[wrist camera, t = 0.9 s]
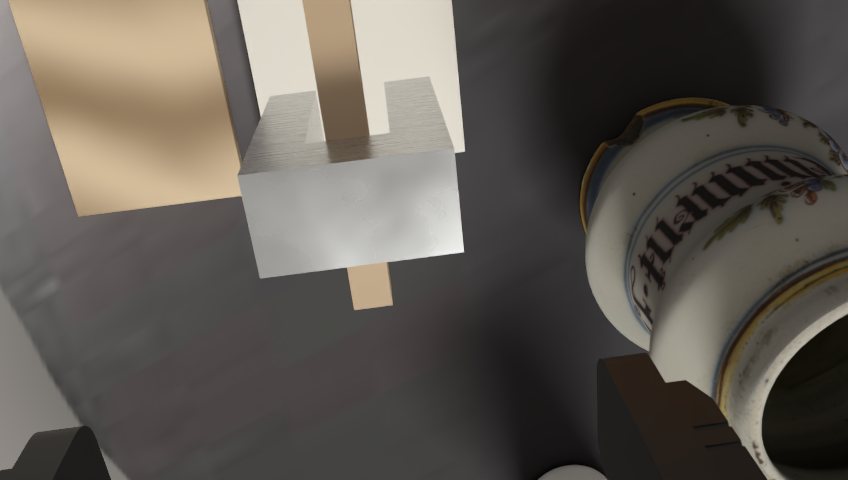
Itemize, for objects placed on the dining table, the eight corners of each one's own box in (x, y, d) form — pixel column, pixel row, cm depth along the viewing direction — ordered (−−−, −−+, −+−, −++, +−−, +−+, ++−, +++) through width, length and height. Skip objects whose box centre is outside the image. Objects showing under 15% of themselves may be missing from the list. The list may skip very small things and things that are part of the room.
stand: (198, -218, 30) (51, -303, 16) (427, -244, 31) (486, -352, 16) (275, 167, 37) (221, 351, 23) (461, 143, 37) (525, 311, 23)
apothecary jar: (685, 20, 36) (957, 140, 20) (839, 175, 40) (1172, 383, 23) (507, 209, 39) (611, 446, 23) (664, 336, 43) (850, 615, 27)
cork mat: (13, -3, 33) (7, -2, 33) (201, -26, 33) (198, -25, 33) (82, 211, 37) (78, 216, 37) (248, 190, 38) (246, 195, 37)
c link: (270, 95, 27) (237, 175, 20) (429, 76, 27) (453, 148, 20) (285, 176, 28) (260, 278, 21) (437, 157, 29) (464, 252, 21)
